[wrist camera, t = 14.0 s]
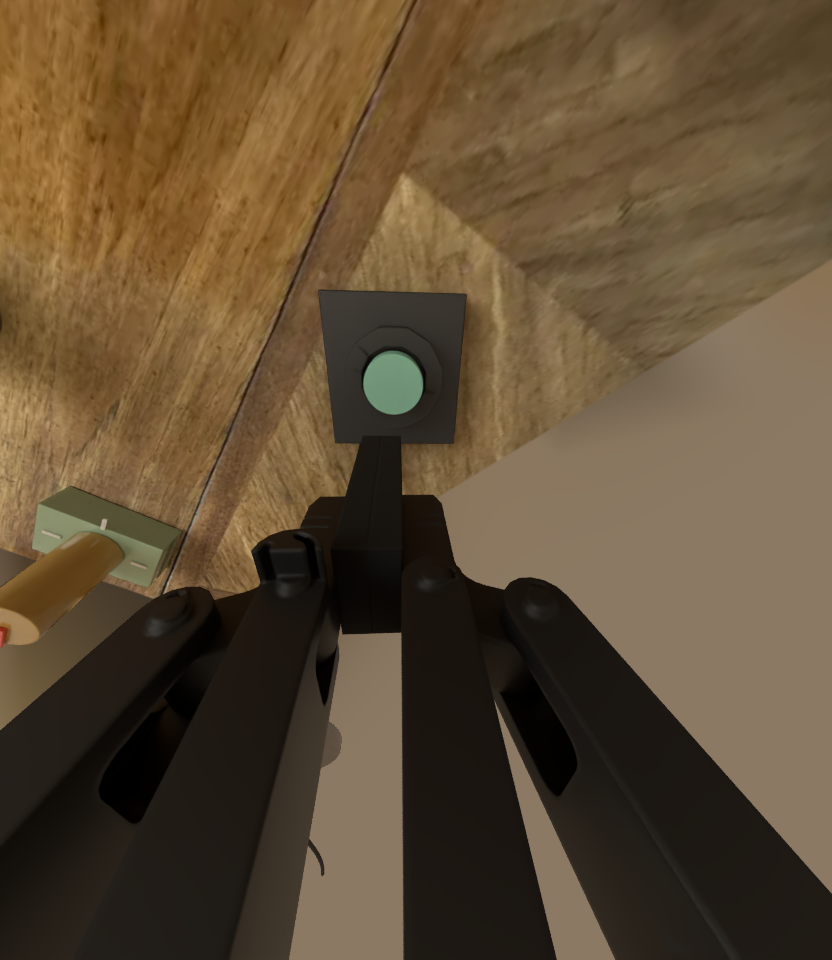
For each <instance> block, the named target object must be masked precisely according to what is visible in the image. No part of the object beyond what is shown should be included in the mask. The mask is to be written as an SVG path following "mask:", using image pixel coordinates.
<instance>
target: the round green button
mask: <svg viewBox="0 0 832 960" xmlns="http://www.w3.org/2000/svg"><path fill="white" fill-rule="evenodd" d="M363 385H364V391H365V394H366V397H367V399H368V400H369V402H370V403H371V404H372V405H373V406H374V407H375V408H376V409H377V410H379V411H381V412H383V413H386V414H392V415H396V414H402V413H405V412H407V411H409V410H410V409H412V408H413V407H414V406H415V405H416V404H417V403H418V401H419V399H420V398H421V395H422V391H423V378H422V375H421V372H420V369H419V367H418V365H417V363H416V362H415V361H414V359H412V358H411V357H410V356H409V355H407V354H405V353H403V352H400V351H386V352H383V353H381V354H379V355H378V356H376V357H375V358H374V359H373V360H372V361H371V363H370V364H369V366H368V368H367V370H366V372H365V376H364V383H363Z"/></svg>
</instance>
